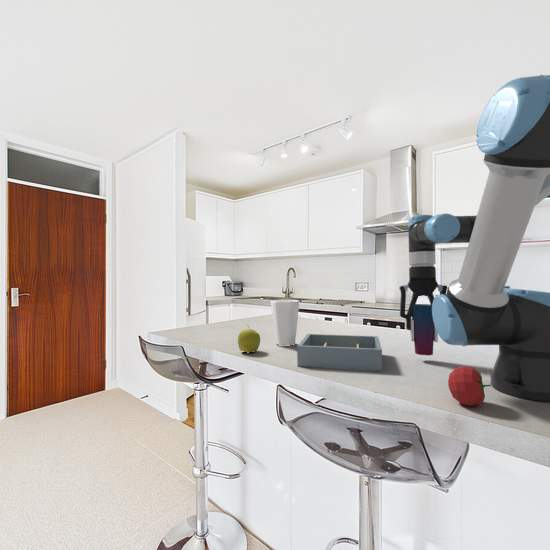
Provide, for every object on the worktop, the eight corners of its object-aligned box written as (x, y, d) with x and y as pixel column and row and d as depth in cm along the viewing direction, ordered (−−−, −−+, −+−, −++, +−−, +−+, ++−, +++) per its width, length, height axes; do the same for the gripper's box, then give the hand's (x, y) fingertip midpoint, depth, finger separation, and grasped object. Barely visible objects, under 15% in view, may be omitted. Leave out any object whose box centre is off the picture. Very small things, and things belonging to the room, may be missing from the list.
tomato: (443, 360, 70) (484, 358, 66) (452, 375, 75) (492, 375, 70) (445, 396, 66) (489, 398, 61) (455, 411, 70) (497, 413, 66)
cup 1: (303, 346, 124) (303, 301, 124) (278, 349, 120) (278, 302, 120) (291, 340, 134) (290, 299, 134) (268, 343, 131) (267, 300, 130)
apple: (233, 352, 112) (236, 323, 115) (240, 353, 119) (243, 326, 122) (255, 353, 110) (257, 323, 113) (261, 354, 117) (263, 327, 120)
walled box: (382, 371, 92) (381, 349, 91) (297, 366, 98) (297, 346, 98) (378, 354, 111) (378, 336, 111) (307, 350, 117) (307, 333, 117)
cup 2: (439, 356, 97) (437, 305, 97) (414, 355, 99) (413, 305, 99) (432, 351, 104) (431, 304, 104) (409, 350, 105) (409, 304, 105)
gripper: (452, 265, 103) (454, 339, 102) (388, 267, 108) (390, 337, 107) (459, 264, 96) (461, 344, 95) (390, 266, 100) (392, 342, 100)
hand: (423, 340), depth 101 cm, fingers closed on cup 2, 6 cm apart
